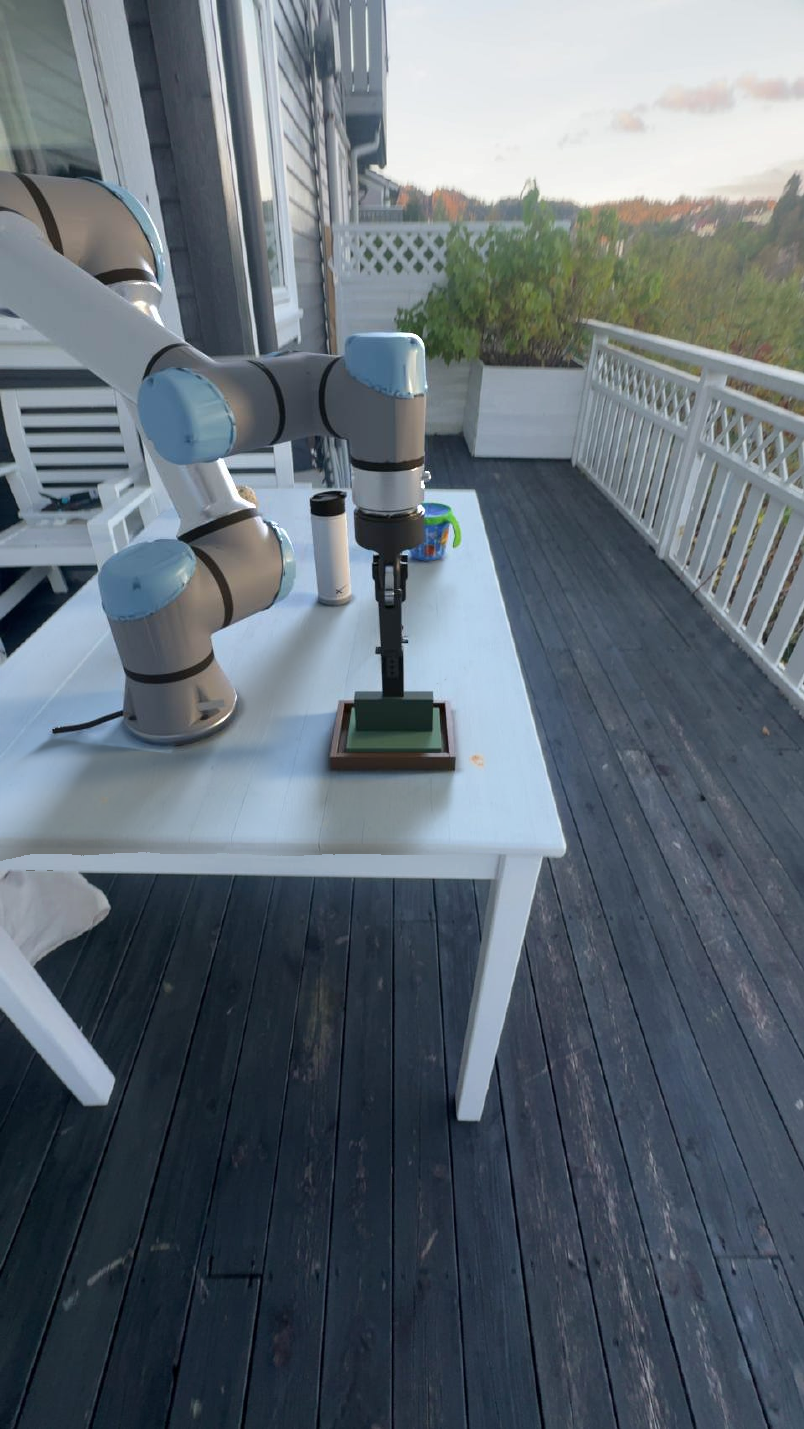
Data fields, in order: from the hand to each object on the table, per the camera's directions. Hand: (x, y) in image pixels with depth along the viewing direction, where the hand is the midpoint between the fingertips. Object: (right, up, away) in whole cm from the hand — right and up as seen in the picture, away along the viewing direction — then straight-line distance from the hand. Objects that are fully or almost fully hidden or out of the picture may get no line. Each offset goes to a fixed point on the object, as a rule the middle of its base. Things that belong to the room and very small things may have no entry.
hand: (393, 693), depth 79 cm
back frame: (0, -6, +4) cm, 7 cm away
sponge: (-40, +48, +82) cm, 103 cm away
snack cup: (+7, +32, +58) cm, 67 cm away
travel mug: (-12, +19, +40) cm, 46 cm away
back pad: (0, -6, +4) cm, 7 cm away
